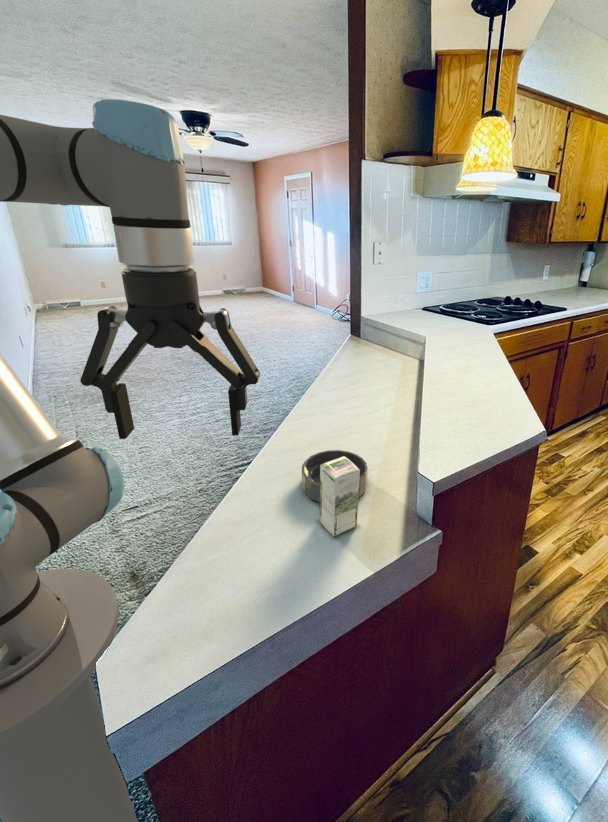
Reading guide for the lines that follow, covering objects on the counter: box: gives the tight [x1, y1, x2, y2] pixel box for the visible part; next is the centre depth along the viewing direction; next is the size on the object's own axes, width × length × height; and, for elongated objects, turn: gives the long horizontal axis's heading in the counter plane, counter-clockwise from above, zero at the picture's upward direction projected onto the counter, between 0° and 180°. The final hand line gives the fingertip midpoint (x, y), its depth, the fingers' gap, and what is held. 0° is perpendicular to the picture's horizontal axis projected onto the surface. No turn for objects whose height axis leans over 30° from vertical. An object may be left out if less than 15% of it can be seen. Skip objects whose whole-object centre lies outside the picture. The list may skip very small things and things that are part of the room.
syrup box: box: [319, 456, 360, 538], centre depth 82 cm, size 6×6×14 cm
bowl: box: [301, 449, 369, 503], centre depth 96 cm, size 15×15×5 cm
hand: (183, 432), depth 54 cm, fingers open, 13 cm apart
